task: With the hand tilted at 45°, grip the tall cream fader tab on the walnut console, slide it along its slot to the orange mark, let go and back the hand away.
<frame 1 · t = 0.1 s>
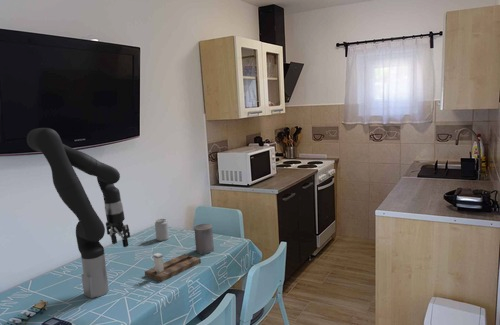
hand: (120, 245, 176), 17 cm above the table, tool pointing down, fingers open, 8 cm apart
fader tab: (158, 263, 182), point 6 cm above the table, slide at 0.0 cm
can: (162, 239, 234), on the table
fader console: (173, 269, 189), on the table
pillar candle: (205, 251, 211), on the table
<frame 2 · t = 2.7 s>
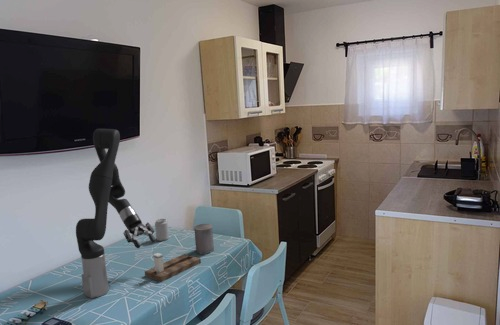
hand: (146, 244, 185), 14 cm above the table, tool tilted 45°, fingers open, 8 cm apart
nothing on the table moved.
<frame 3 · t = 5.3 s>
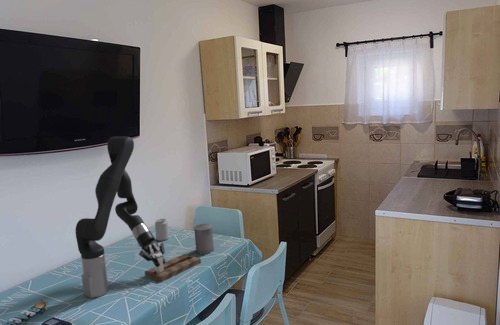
hand: (161, 264, 180), 6 cm above the table, tool tilted 45°, fingers closed on fader tab, 2 cm apart
fader tab: (158, 263, 182), point 6 cm above the table, slide at 0.0 cm, touching gripper
everything else where it was.
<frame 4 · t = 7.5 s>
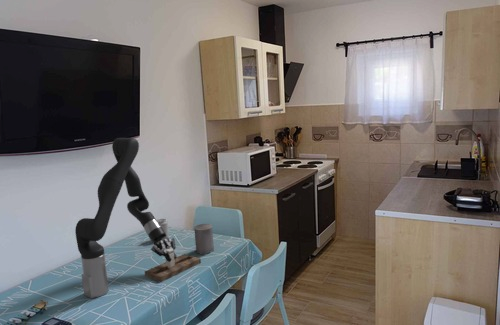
hand: (172, 259, 186), 6 cm above the table, tool tilted 45°, fingers closed on fader tab, 2 cm apart
fader tab: (170, 258, 187), point 6 cm above the table, slide at 6.8 cm, touching gripper
everything else where it was.
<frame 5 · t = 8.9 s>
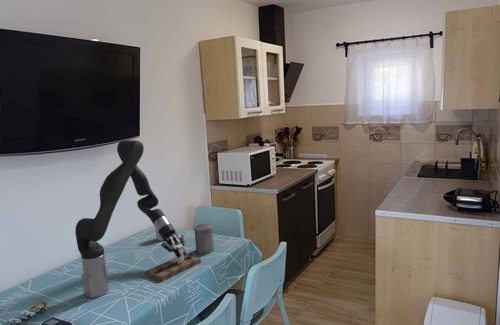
hand: (182, 255, 190), 6 cm above the table, tool tilted 45°, fingers closed on fader tab, 2 cm apart
fader tab: (179, 254, 191), point 6 cm above the table, slide at 12.8 cm, touching gripper
everything else where it was.
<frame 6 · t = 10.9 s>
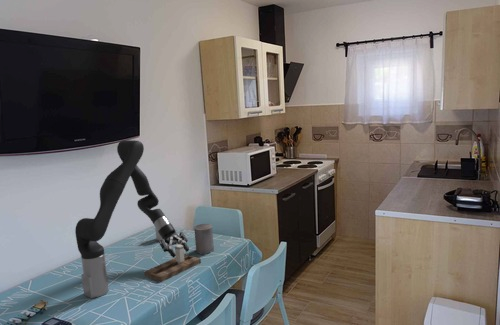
hand: (181, 253, 191), 7 cm above the table, tool tilted 45°, fingers open, 8 cm apart
fader tab: (179, 254, 192), point 6 cm above the table, slide at 13.0 cm
everything else where it was.
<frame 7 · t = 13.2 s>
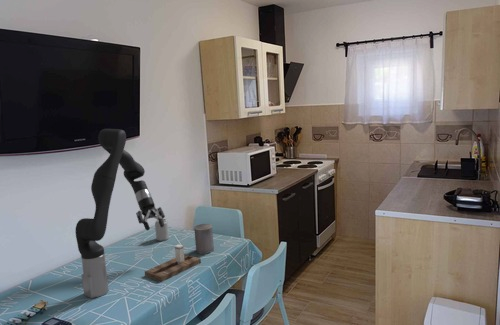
hand: (155, 228, 196), 18 cm above the table, tool tilted 35°, fingers open, 8 cm apart
nothing on the table moved.
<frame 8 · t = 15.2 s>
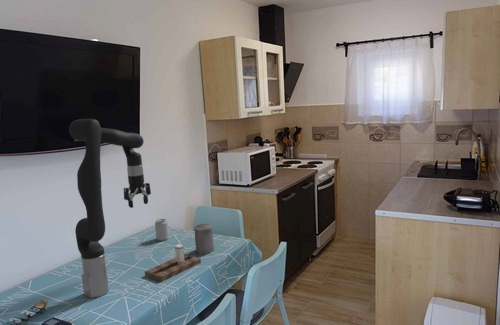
hand: (138, 205, 195), 30 cm above the table, tool pointing down, fingers open, 8 cm apart
nothing on the table moved.
at the end: fader tab slide at 13.0 cm; the gripper is holding nothing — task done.
